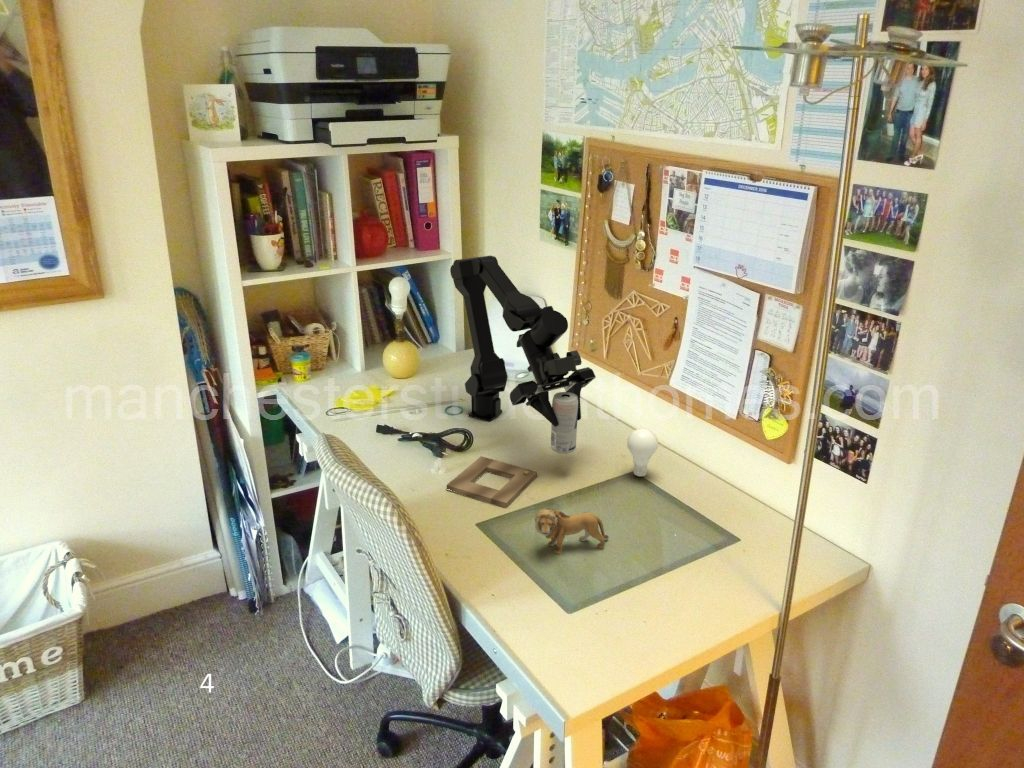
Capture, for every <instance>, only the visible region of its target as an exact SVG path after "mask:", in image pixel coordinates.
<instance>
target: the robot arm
mask: <svg viewBox="0 0 1024 768" xmlns="http://www.w3.org/2000/svg"><path fill="white" fill-rule="evenodd" d="M449 273H450V276H451V278H452V281H453V284H454V288H455V289H456V290H457V291H458V292H459V294H461V296H462V297H463V300H464V306H465V311H466V316H467V317H466V318H467V320H468V321H467V322H468V327H469V332H470V337H471V342H472V348H473V353H474V354H473V355H474V356H473V359H472V362H471V365H470V367H469V368H470V377H469V378H468V379H467V380H466V381H465V382H464V388H465V389H464V390H465V392H466V393H467V394H468V395H469V396H470V399H471V402H470V403H471V406H470V407H471V411H470V412H468V414H467V415H469V416H468V417H470V416H472V418H474V417H476V419H478V418H480V419H479V420H483V421H487V422H492V421H493V420H494V419H495V418H497V417H498V416H500V414H502V413H503V410H502V407H501V406H502V405H501V404H502V403H501V401H502V400H501V397H500V392H501V393H503V392H505V389H506V387H507V383H508V377H509V376H508V372H507V369H506V362H505V360H504V358H502V357H501V358H500V357H499V355H498V354H497V353H496V352H495V347H494V341H493V337H492V332H491V326H490V321H489V315H488V311H487V304H486V300H485V299H486V297H485V294H484V293H485V290H486V287H487V288H488V289H489V291H490V292H491V294H492V295H493V296H494V297H495V298H496V300H497V302H499V304H500V306H501V307H502V318H503V320H504V322H505V325H506V326H507V327H508V328H509V330H510V331H511V332H514V333H515V332H519V331H525V332H524V333H521V334H519V335H518V339H517V341H516V347H517V348H522V350H523V353H524V356H525V358H526V359H527V362H528V365H529V366H527V368H526V369H527V371H528V373H531V372H532V374H533V375H532V376H534V377H533V378H534V380H529V381H523V382H521V383H518V384H516V386H515V387H514V388H513V389H512V390H511V391H510V393H509V399H510V402H511V405H512V406H518V405H521V404H524V403H525V405H526V407H528V406H530V407H531V408H533V409H534V410H535V411H536V412H538V413H539V414H540V415H541V416H542V417H544V418H545V419H546V420H547V421H548V422H549V423H550V424H551V425H552V424H553V425H554V426H555V427H557V426H558V425H559V424H558V421H557V418H556V415H555V413H554V411H553V408H552V404H551V401H550V397H549V396H550V395H549V392H550V391H554V390H558V389H562V388H563V389H564V392H570V393H573V394H575V395H577V397H578V418H577V421H580V420H581V419H582V411H581V409H582V408H581V391H582V389H583V388H585V387H587V386H588V385H589V384H590V383H591V382H592V381H593V380H595V379H596V378H597V377H596V374H595V372H594V370H593V369H592V368H590V367H582V368H579V369H578V368H577V366H578V367H579V366H581V365H582V357H581V355H580V352H579V351H578V350H577V349H575V350H572V351H567V352H566V354H565V355H566V356H564V357H561V356H560V354H559V353H558V352H554V351H553V349H552V347H553V345H554V344H555V343H556V342H557V341H559V339H560V338H561V337H562V336H564V334H565V333H567V331H568V328H569V322H568V319H567V318H566V317H565V316H564V314H563V313H561V312H559V311H557V310H554V307H553V306H552V305H548V306H543V307H541V306H540V304H538V302H537V301H535V299H533V298H532V297H531V296H529V295H526V294H524V293H522V292H520V290H518V288H517V287H516V286H515V284H514V283H513V281H512V280H511V279H510V278H509V276H508V275H507V274H506V272H505V271H504V269H503V268H501V266H500V265H499V261H498V259H497V257H496V256H494V255H491V254H490V255H484V256H475V257H467V258H461V259H455V260H454V262H453V263H452V265H451V266H450V270H449ZM570 372H572V373H570ZM568 374H569V375H568ZM565 376H566V377H565ZM526 401H527V402H526Z"/></svg>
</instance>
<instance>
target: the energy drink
mask: <svg viewBox="0 0 1024 768" xmlns="http://www.w3.org/2000/svg"><path fill="white" fill-rule="evenodd" d="M551 402H552V404H551V406H552V408H553V411H554V413H555V415H556V418H557V421H558V424H559V425H558V426H557V427H555V426H554V425H553V424H552V423H551V430H550V448H551V449H552V451H553V452H555V453H557V454H562V455H563V454H565V455H566V454H570V453H572V452H574V451H575V450H576V449H577V448H576V447H577V438H578V437H577V436H578V435H577V432H578V420H577V418H578V397H577V395H575V394H573V393H570V392H566V391H559V392H556V393H555V394H553V398H552V401H551Z"/></svg>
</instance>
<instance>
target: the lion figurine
mask: <svg viewBox="0 0 1024 768" xmlns="http://www.w3.org/2000/svg"><path fill="white" fill-rule="evenodd" d="M534 528H535V530H536V533H538V534H540V535H543V536H545V538H546V539H549V541H548V542H547V545H548V546H549V547H554V546H555V544H557V546H556V548H555V549H554V554H556V555H561V554H562V552H563V543H564V539H565V538H566V536H571V535H576V534H579V533H581V532H582V531H583V530H584V532H585V533H584V535H581V536H579V538H578V540H579V541H580V542H586V541H587V539H588V538H590V537H592V538H593V539H596V541H599V542H598V543H597V545H596V547H597V548H598V549H599V550H602V549H604V548H605V539H606V540H607V539H609V535H607V534H605V529H604V524H603V523H602V520H601V518H600V517H599V516H597V515H596V514H594V513H591V512H588V511H587V512H581V513H579V514H573V515H568V514H565V513H564V512H562V511H559V510H556V509H554V508H542V509H540V510H539V511H538V512H537V513H536V515H535V517H534ZM599 529H600V530H599Z"/></svg>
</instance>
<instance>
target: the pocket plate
mask: <svg viewBox="0 0 1024 768" xmlns="http://www.w3.org/2000/svg"><path fill="white" fill-rule="evenodd" d="M485 472H486V473H489V472H491V473H490V474H493V473H494V475H496V474H497V476H500V477H504V478H507V479H510V480H509V481H508V482H506V483H505V484H504V485H503V486H502V487H501V488H500V489H496V488H492V487H490V486H486V485H483V484H479V483H476V482H477V481H478V480H479V479H480V478H481V477H483V476H484V475H485V474H486V473H485ZM484 473H485V474H484ZM538 473H539V472H538V471H535V470H533V469H529V468H525V467H523V466H522V467H521V466H517V465H514V464H511V463H507V462H504V461H500V460H496V459H493V458H488V457H486V456H479V457H478V458H477V459H476V460H474V461H473V462H472V463H471V464H470V465H468V467H466V468H465V469H464V470H463V471H462V472H460V473H459V474H458V475H457V476H456V477H455V478H453V479H452V480H450V482H448V483H447V484H446V490H447V489H450V490H452V491H455V492H457V493H456V494H458V493H460V494H459V495H461V494H463V495H462V496H464V495H466V496H465V497H468V496H469V497H468V498H471V497H472V498H471V499H474V498H476V499H475V500H478V499H479V500H478V501H481V500H482V501H481V502H484V501H485V503H488V504H492V505H494V506H498V507H502V508H504V509H507V508H508V507H509V506H510V505H512V503H513V502H515V500H516V499H517V498H518V497H519V496H520V495H521V494H522V493H523V492H524V491H525V490H526V489H527V488H528V487H529V486H530V485H531V484H533V482H534V481H535V480H536V479H537V478H538ZM483 474H484V475H483ZM482 475H483V476H482ZM479 477H480V478H479ZM478 478H479V479H478ZM477 479H478V480H477ZM476 480H477V481H476ZM475 481H476V482H475ZM474 482H475V483H474Z"/></svg>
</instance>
